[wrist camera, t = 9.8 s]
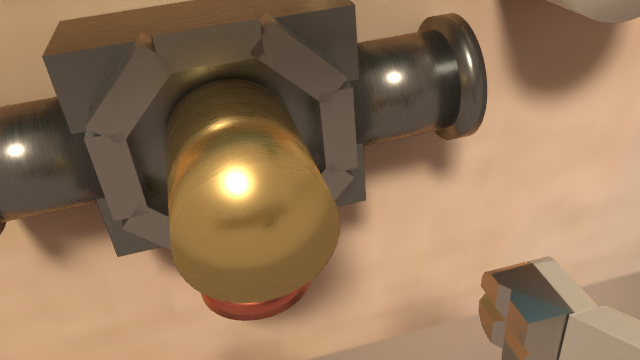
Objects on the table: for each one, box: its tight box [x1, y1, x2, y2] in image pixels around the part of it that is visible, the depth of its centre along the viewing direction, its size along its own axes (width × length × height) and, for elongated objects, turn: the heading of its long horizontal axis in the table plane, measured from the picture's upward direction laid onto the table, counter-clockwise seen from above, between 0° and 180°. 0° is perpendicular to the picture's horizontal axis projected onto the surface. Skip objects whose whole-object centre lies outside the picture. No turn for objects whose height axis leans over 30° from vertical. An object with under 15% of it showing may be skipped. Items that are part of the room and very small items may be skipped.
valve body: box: [0, 0, 487, 321], centre depth 22 cm, size 19×12×5 cm, turn 96°
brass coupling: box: [165, 79, 340, 303], centre depth 17 cm, size 5×5×6 cm
